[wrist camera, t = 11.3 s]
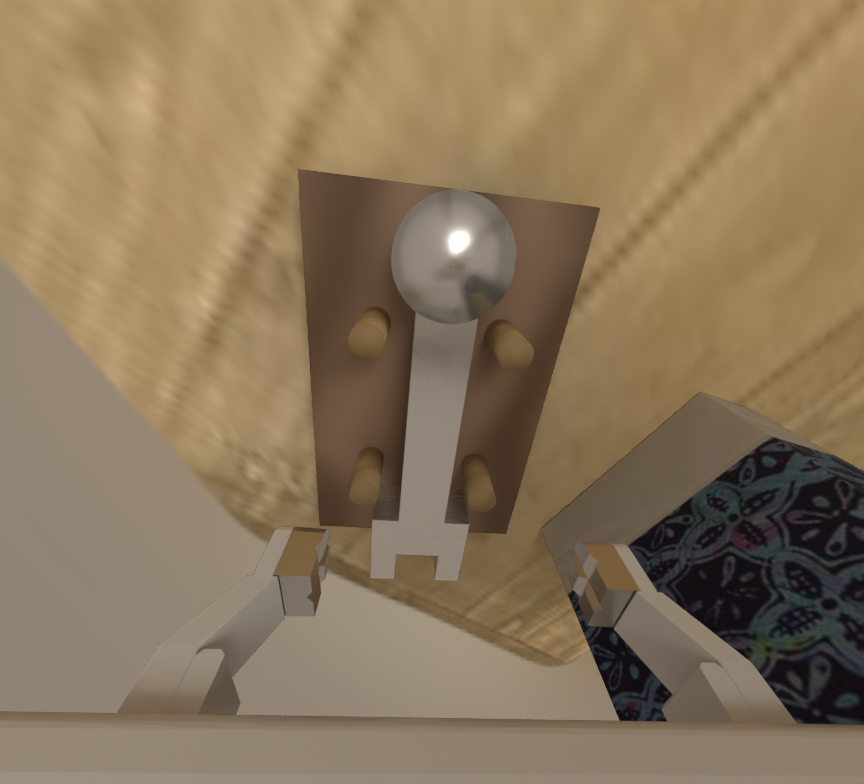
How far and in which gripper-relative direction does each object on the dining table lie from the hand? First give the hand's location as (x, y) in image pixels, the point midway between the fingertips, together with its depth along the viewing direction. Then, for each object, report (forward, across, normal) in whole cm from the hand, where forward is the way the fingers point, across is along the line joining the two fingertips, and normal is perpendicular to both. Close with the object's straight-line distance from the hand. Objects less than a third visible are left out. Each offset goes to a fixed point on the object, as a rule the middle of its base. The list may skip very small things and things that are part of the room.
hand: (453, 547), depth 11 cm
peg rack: (+12, +1, 0) cm, 12 cm away
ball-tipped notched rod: (+10, 0, 0) cm, 10 cm away
